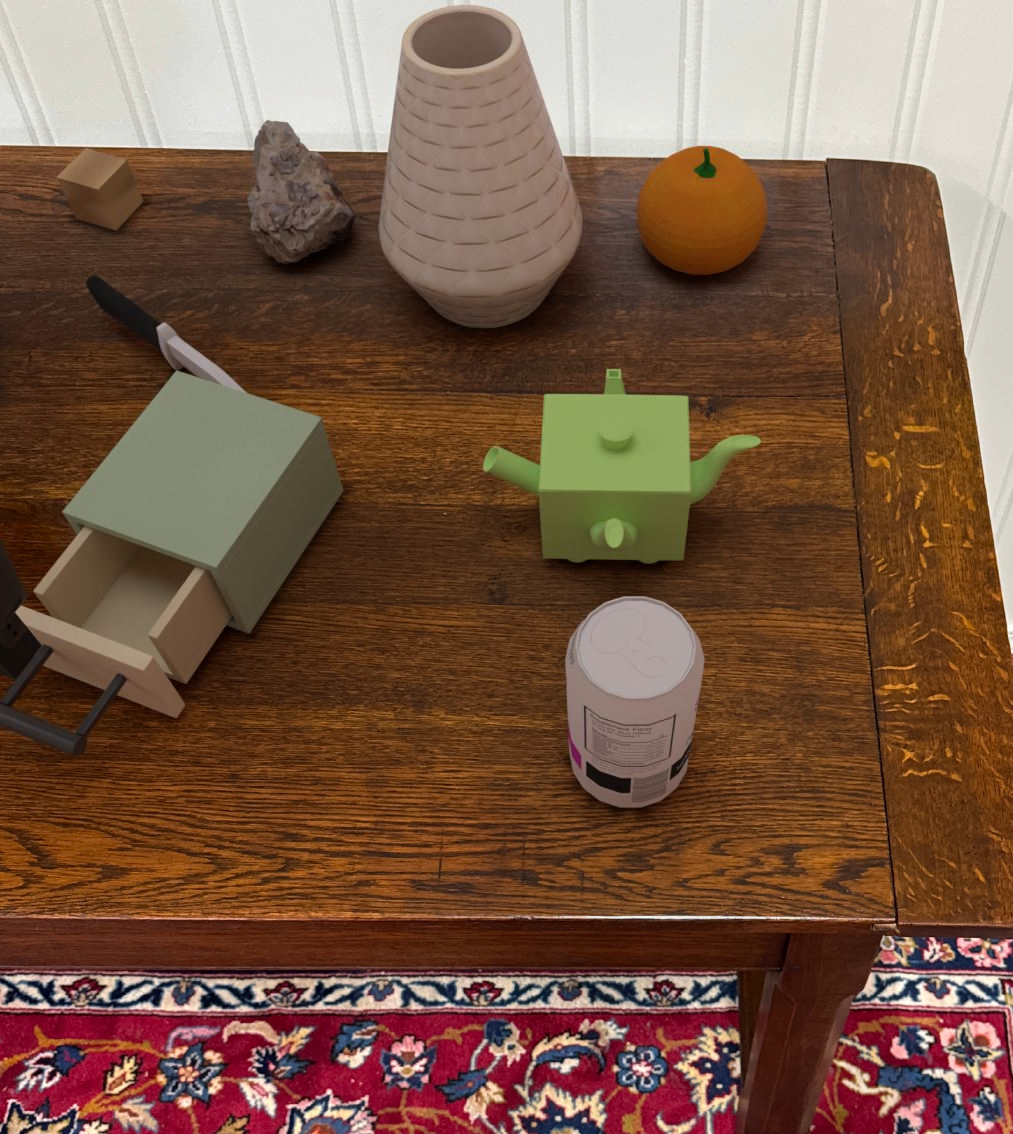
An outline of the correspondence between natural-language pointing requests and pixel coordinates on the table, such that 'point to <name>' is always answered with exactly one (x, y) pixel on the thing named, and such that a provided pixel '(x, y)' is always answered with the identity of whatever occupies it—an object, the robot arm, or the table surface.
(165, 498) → the cabinet
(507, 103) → the vase
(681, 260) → the fruit
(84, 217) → the block
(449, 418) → the table surface
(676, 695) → the supplement can
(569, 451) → the kettle
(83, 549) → the drawer
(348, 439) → the table surface
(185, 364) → the knife
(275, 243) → the rock
